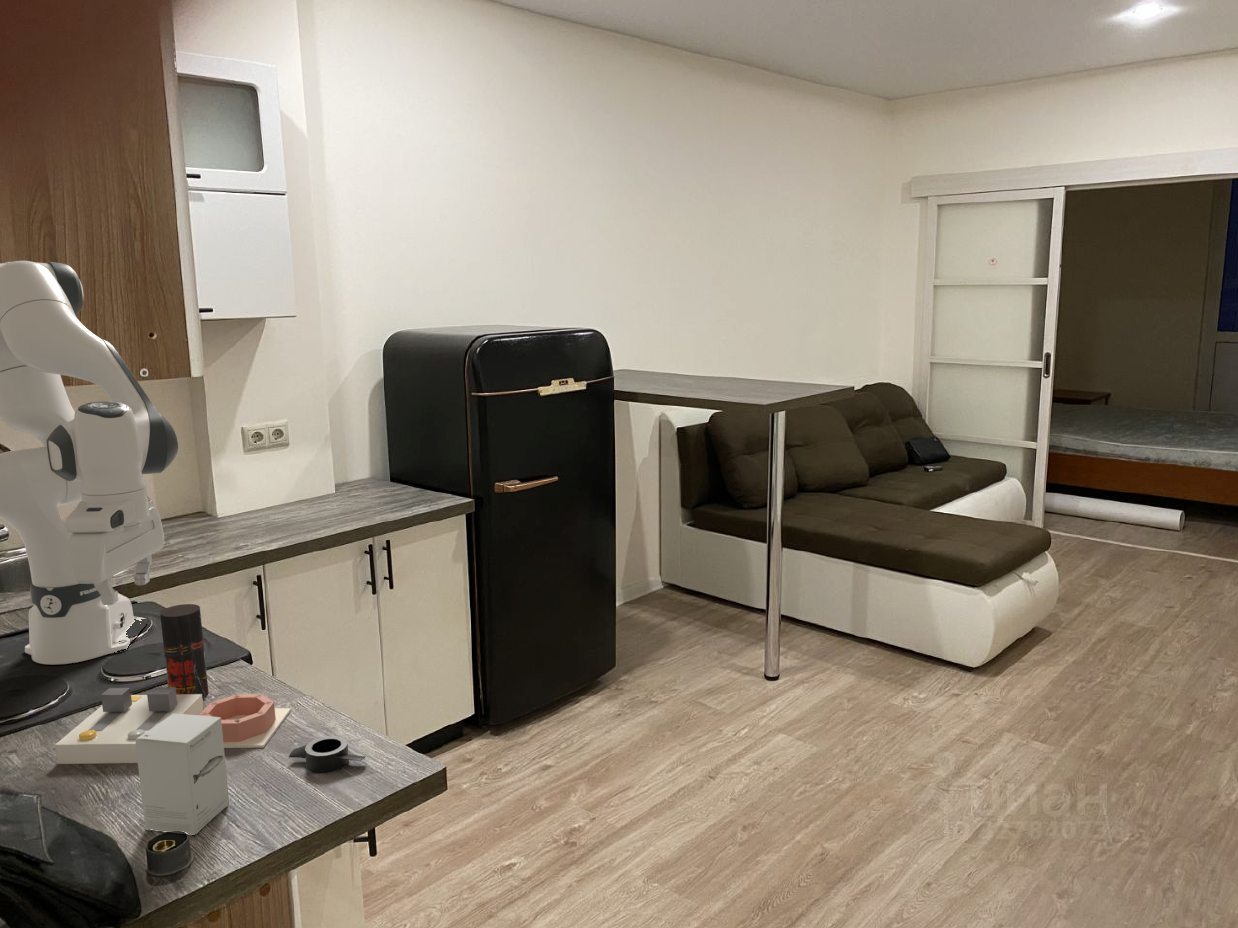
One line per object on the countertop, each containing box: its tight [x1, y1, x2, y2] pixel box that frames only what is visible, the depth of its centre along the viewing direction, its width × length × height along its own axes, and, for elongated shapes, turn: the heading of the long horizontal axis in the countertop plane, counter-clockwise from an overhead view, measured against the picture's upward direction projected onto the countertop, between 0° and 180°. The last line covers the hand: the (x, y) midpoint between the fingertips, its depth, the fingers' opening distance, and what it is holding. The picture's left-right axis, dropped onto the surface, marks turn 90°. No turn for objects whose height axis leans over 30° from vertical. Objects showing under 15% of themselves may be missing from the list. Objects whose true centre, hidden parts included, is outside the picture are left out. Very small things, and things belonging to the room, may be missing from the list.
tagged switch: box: [100, 687, 132, 712], centre depth 141 cm, size 2×3×3 cm
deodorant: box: [159, 603, 209, 699], centre depth 152 cm, size 6×6×15 cm
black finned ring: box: [288, 735, 366, 775], centre depth 132 cm, size 8×10×3 cm
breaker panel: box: [54, 694, 205, 765], centre depth 140 cm, size 16×14×4 cm
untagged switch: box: [146, 686, 177, 711], centre depth 141 cm, size 2×3×3 cm
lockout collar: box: [199, 693, 292, 749], centre depth 142 cm, size 12×12×3 cm
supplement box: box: [135, 713, 230, 836], centre depth 117 cm, size 7×7×13 cm
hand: (127, 593), depth 145 cm, fingers open, 8 cm apart
